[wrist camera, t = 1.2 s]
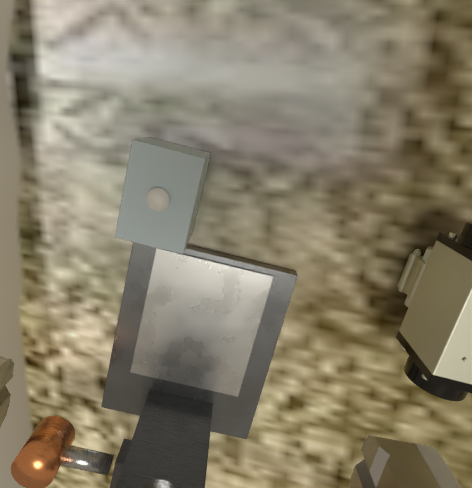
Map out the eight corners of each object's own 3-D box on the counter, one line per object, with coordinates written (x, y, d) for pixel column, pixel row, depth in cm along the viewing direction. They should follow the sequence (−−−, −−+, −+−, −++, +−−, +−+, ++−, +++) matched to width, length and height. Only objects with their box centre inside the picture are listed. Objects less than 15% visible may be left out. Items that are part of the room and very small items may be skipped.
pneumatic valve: (371, 325, 39) (427, 411, 27) (420, 202, 36) (506, 239, 24) (429, 340, 39) (508, 431, 27) (482, 219, 36) (597, 264, 24)
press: (138, 232, 37) (45, 329, 19) (295, 271, 37) (342, 398, 20) (95, 449, 43) (-5, 672, 25) (231, 478, 43) (225, 714, 26)
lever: (39, 412, 33) (13, 450, 29) (121, 430, 34) (106, 470, 30) (35, 443, 34) (8, 484, 30) (115, 460, 34) (99, 503, 31)
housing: (150, 137, 35) (131, 140, 28) (211, 152, 35) (204, 158, 29) (134, 219, 36) (113, 238, 30) (192, 233, 37) (182, 255, 30)
